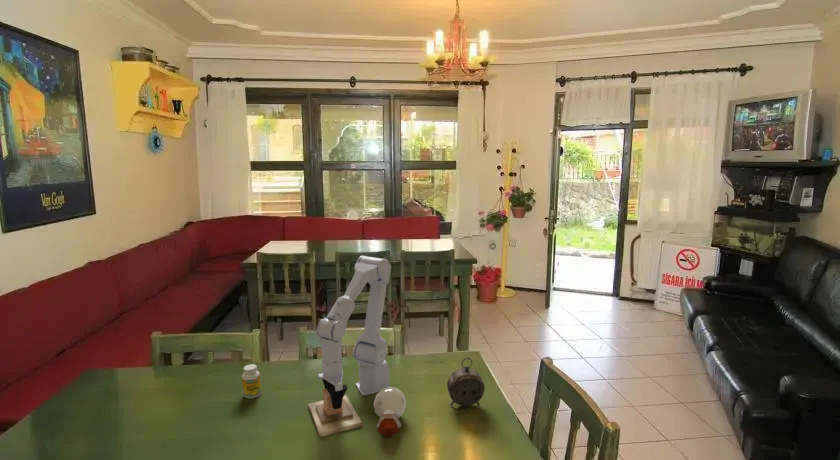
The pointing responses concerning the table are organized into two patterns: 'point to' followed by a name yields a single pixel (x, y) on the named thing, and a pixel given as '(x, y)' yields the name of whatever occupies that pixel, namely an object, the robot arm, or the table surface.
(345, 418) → the base board
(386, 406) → the potion bottle
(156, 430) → the table surface
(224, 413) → the table surface
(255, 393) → the supplement bottle
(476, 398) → the alarm clock
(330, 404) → the block
